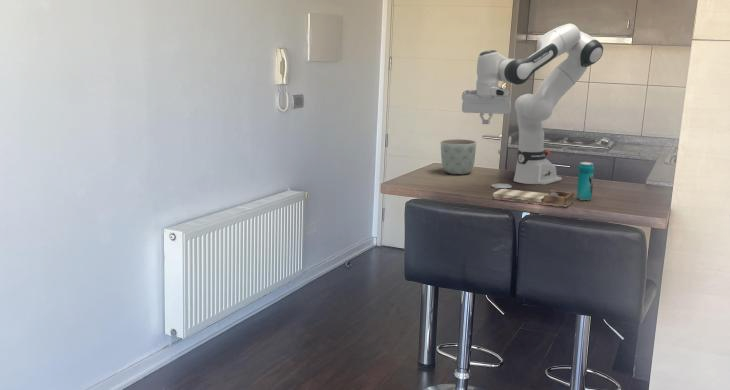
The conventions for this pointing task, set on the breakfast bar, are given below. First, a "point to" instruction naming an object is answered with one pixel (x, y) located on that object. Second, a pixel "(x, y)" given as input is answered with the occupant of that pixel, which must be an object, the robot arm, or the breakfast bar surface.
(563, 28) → the robot arm
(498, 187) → the coaster
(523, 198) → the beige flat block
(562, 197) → the brown square tray
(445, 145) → the planter
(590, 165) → the beverage can
